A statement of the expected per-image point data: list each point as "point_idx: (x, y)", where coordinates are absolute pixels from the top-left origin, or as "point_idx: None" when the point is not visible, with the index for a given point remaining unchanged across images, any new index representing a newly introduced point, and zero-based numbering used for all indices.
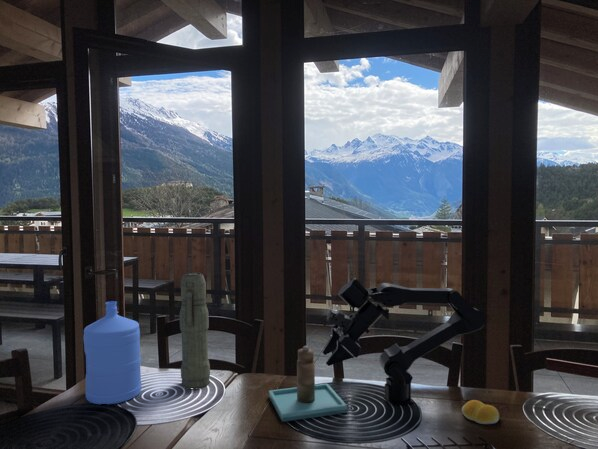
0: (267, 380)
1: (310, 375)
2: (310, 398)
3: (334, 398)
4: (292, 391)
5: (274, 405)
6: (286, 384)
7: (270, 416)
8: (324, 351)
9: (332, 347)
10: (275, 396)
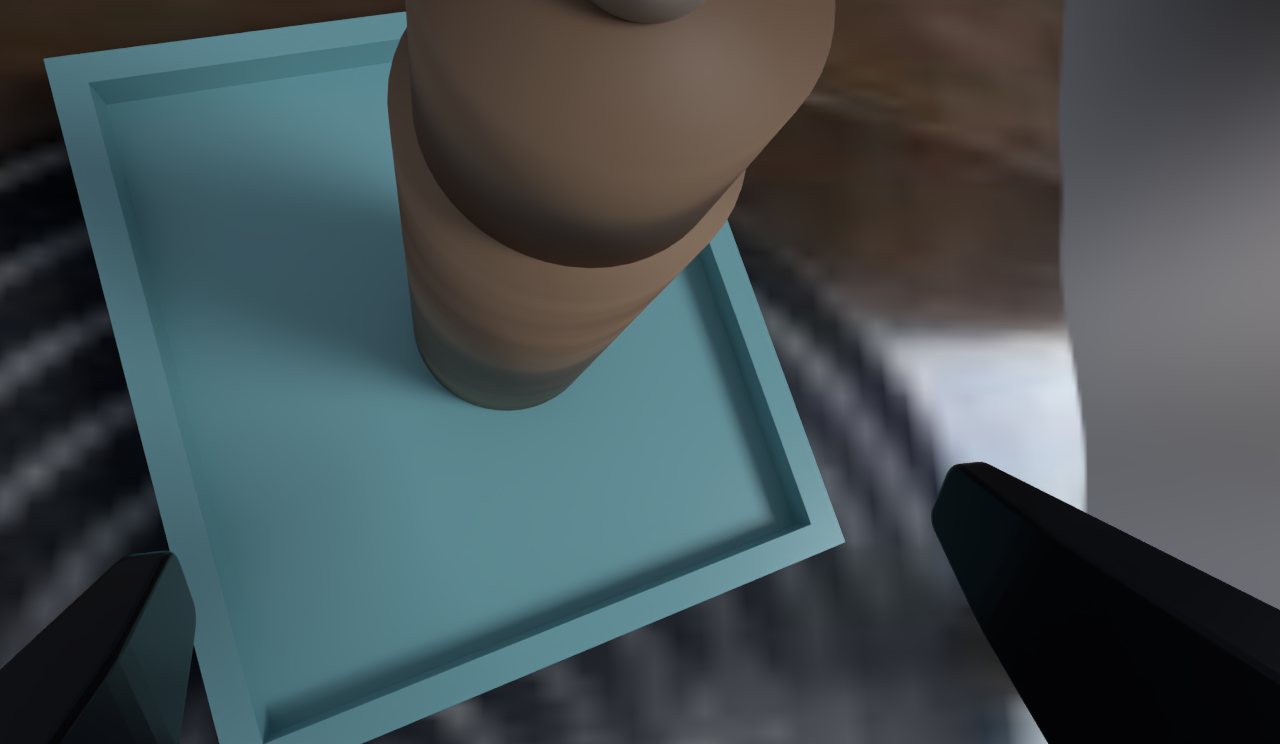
0: (953, 30)
1: (422, 276)
2: (425, 356)
3: (537, 623)
4: None
5: None
6: (894, 173)
7: (220, 11)
8: (979, 504)
9: (1112, 731)
10: None
